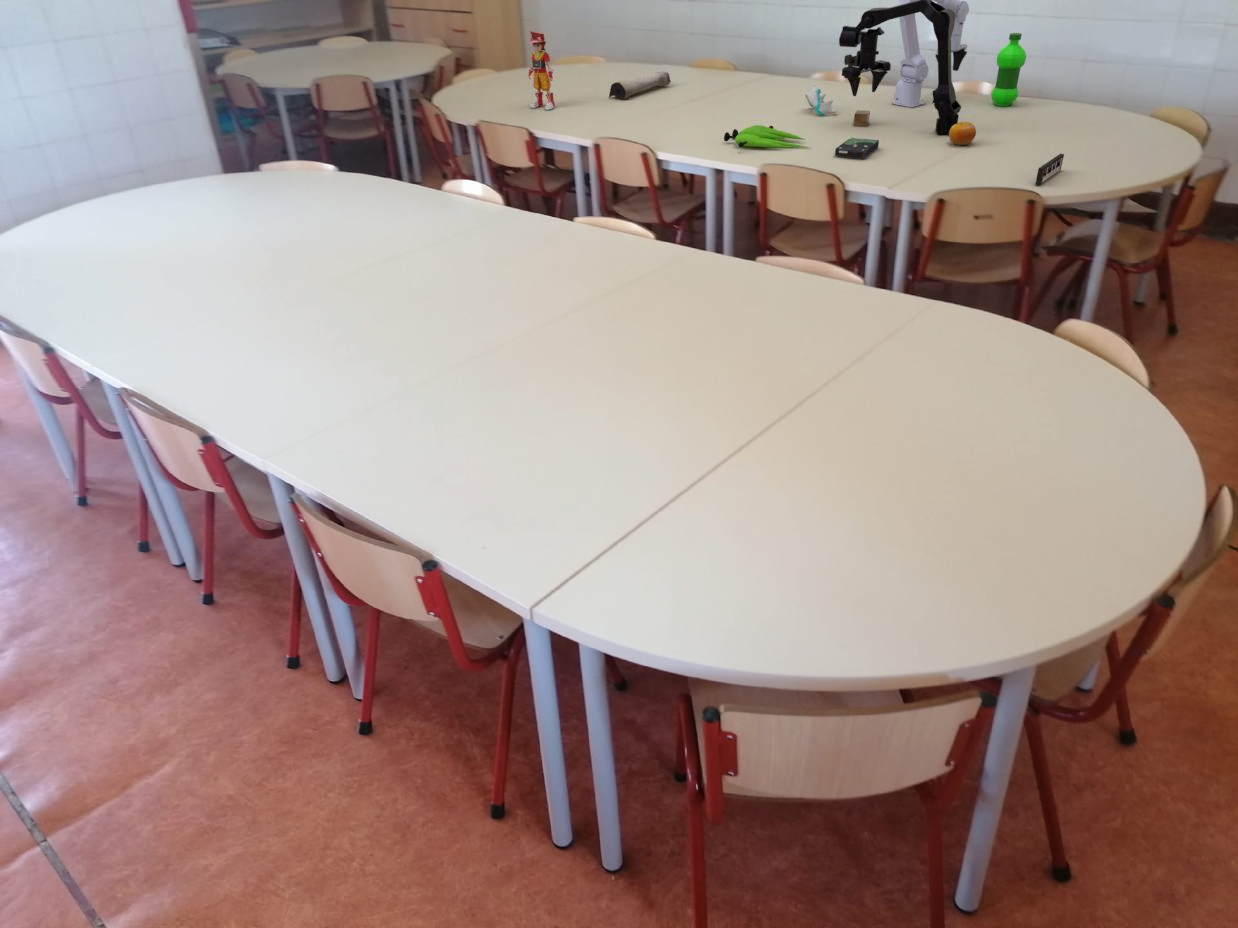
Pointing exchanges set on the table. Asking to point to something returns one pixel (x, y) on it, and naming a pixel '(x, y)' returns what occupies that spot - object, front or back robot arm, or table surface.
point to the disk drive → (856, 148)
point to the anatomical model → (819, 102)
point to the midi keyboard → (1049, 169)
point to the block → (861, 118)
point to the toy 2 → (761, 137)
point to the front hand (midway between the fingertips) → (863, 94)
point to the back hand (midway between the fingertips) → (948, 72)
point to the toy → (541, 71)
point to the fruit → (962, 133)
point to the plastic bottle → (1008, 71)
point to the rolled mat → (638, 84)
